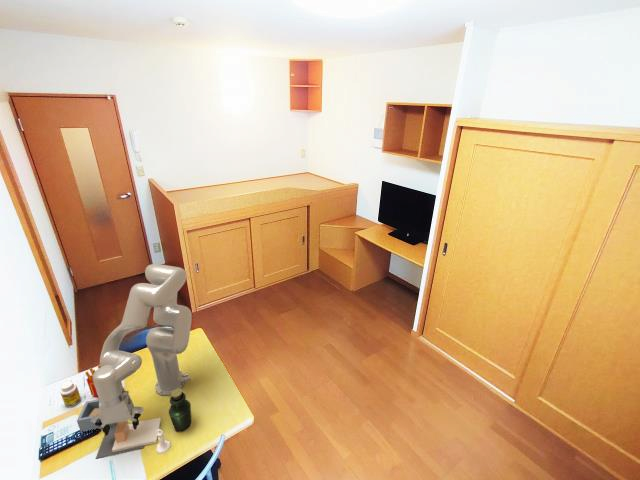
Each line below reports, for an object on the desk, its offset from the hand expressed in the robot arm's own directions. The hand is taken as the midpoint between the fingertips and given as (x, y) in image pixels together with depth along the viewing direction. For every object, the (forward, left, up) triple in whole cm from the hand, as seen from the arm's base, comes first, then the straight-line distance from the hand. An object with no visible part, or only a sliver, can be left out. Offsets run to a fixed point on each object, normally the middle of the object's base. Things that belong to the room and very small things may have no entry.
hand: (122, 429), depth 120 cm
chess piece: (-15, +7, -5) cm, 18 cm away
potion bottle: (-21, -1, -5) cm, 22 cm away
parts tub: (+10, -11, -5) cm, 16 cm away
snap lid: (-5, 0, -5) cm, 7 cm away
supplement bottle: (+26, -24, -5) cm, 35 cm away
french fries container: (+14, -26, -5) cm, 30 cm away
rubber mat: (0, 0, -5) cm, 5 cm away
